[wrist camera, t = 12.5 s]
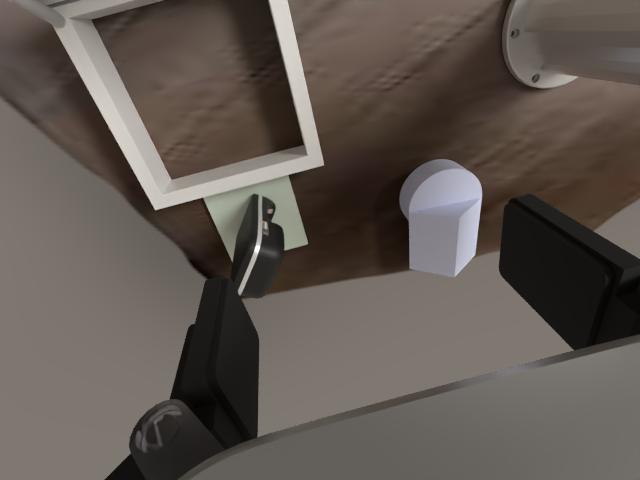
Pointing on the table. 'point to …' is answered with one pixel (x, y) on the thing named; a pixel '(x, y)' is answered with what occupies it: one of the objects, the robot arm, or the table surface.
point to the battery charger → (257, 249)
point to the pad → (234, 204)
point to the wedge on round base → (441, 216)
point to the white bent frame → (127, 127)
